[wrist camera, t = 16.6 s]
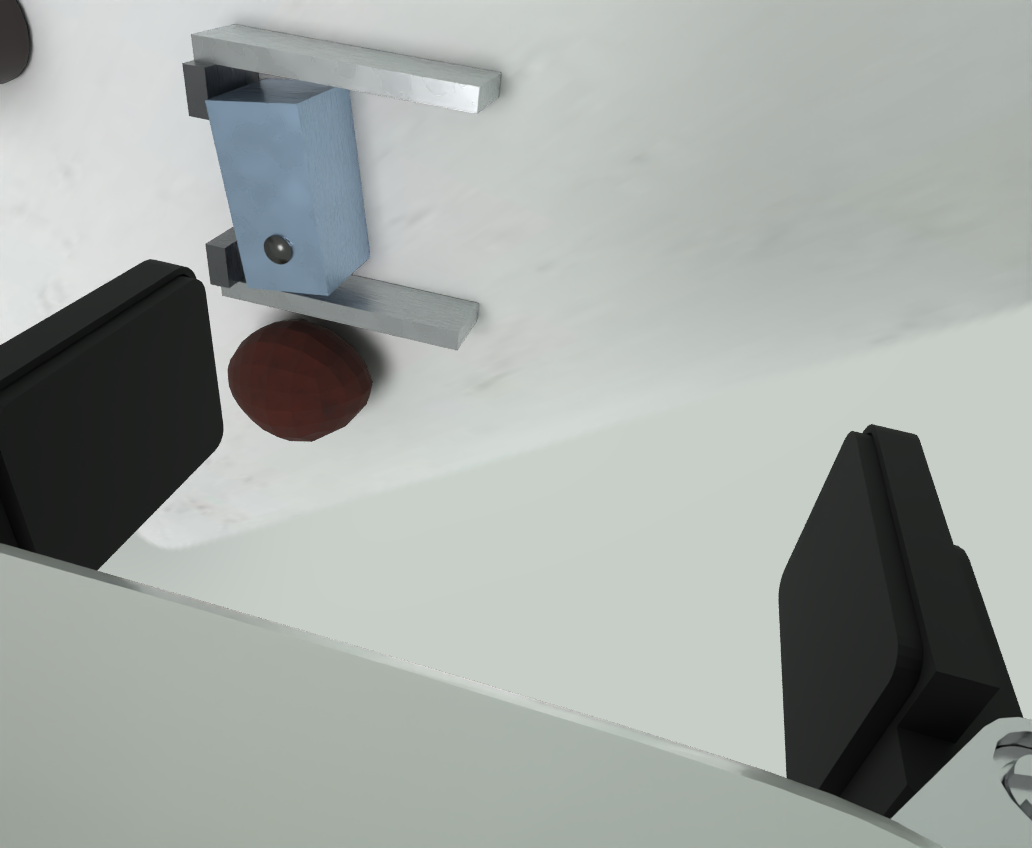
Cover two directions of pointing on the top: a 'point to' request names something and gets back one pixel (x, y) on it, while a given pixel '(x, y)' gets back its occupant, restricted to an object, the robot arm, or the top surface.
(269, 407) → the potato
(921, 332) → the top surface
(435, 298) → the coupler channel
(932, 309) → the top surface
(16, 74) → the bottle
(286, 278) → the lock block
